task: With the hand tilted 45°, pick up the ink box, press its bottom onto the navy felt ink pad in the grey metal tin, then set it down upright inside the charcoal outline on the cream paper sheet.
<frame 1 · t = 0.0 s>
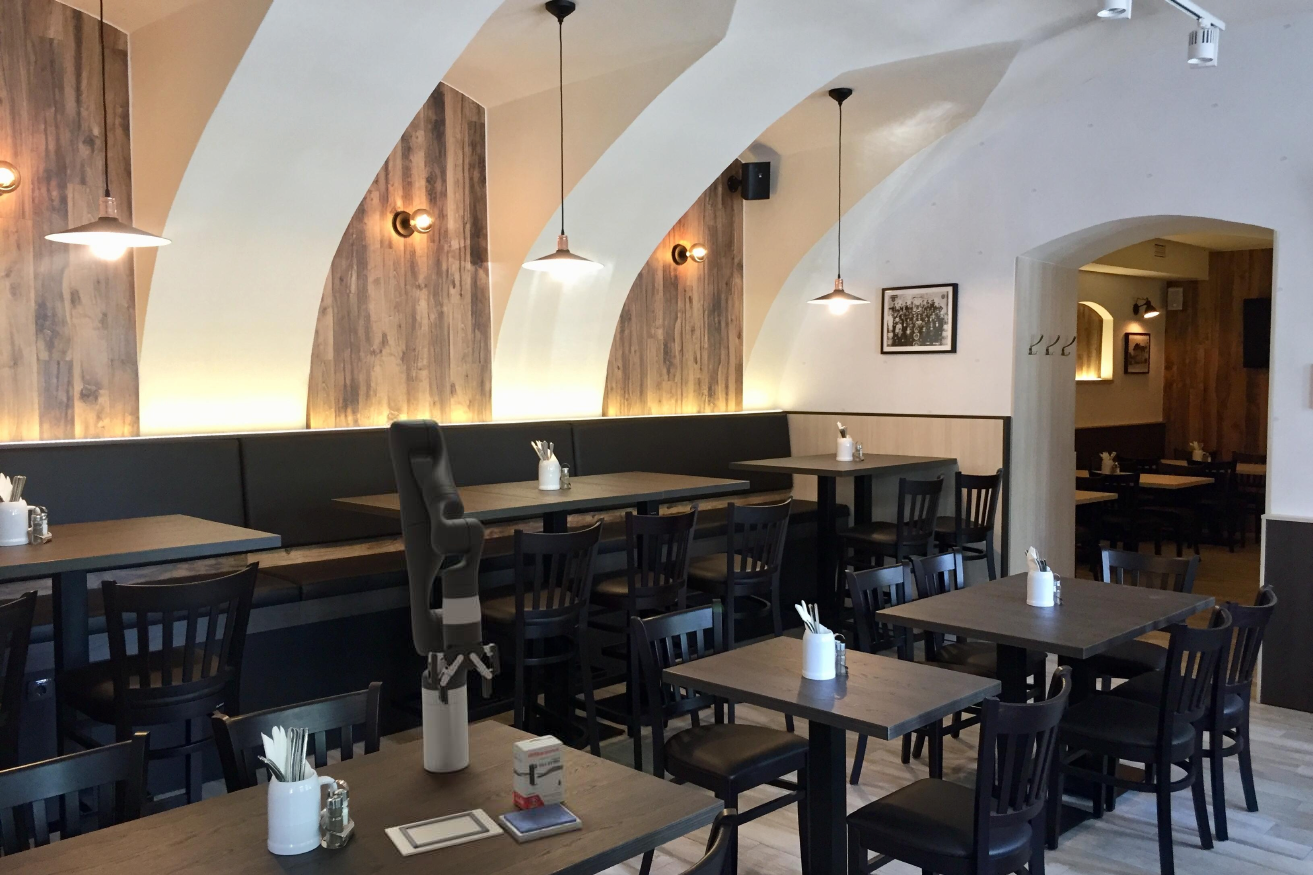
hand: (465, 700, 212), 17 cm above the table, tool pointing down, fingers open, 8 cm apart
ink box: (539, 803, 204), on the table
ink pad: (540, 825, 193), on the table
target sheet: (444, 832, 190), on the table
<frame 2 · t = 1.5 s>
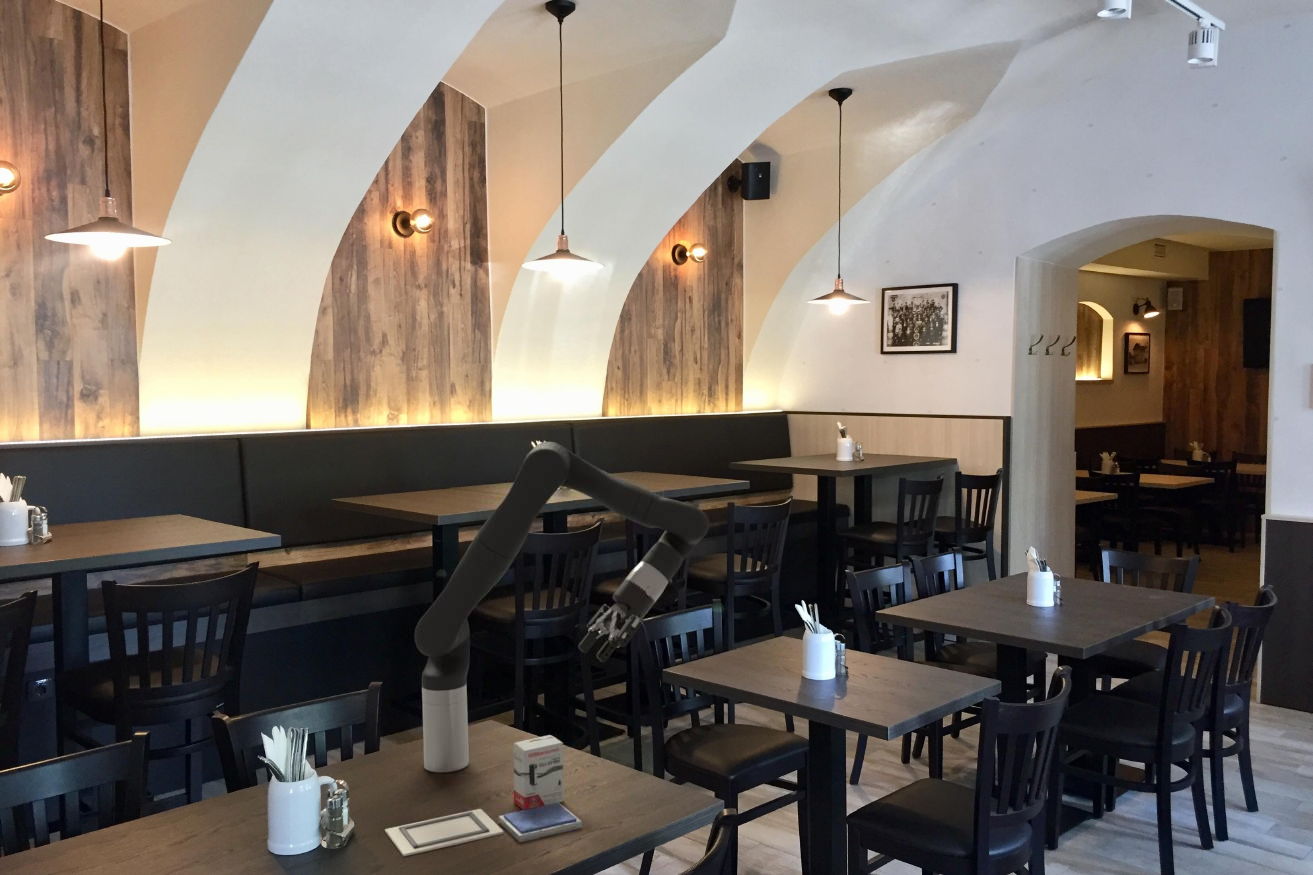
hand: (590, 655, 208), 27 cm above the table, tool tilted 45°, fingers open, 8 cm apart
nothing on the table moved.
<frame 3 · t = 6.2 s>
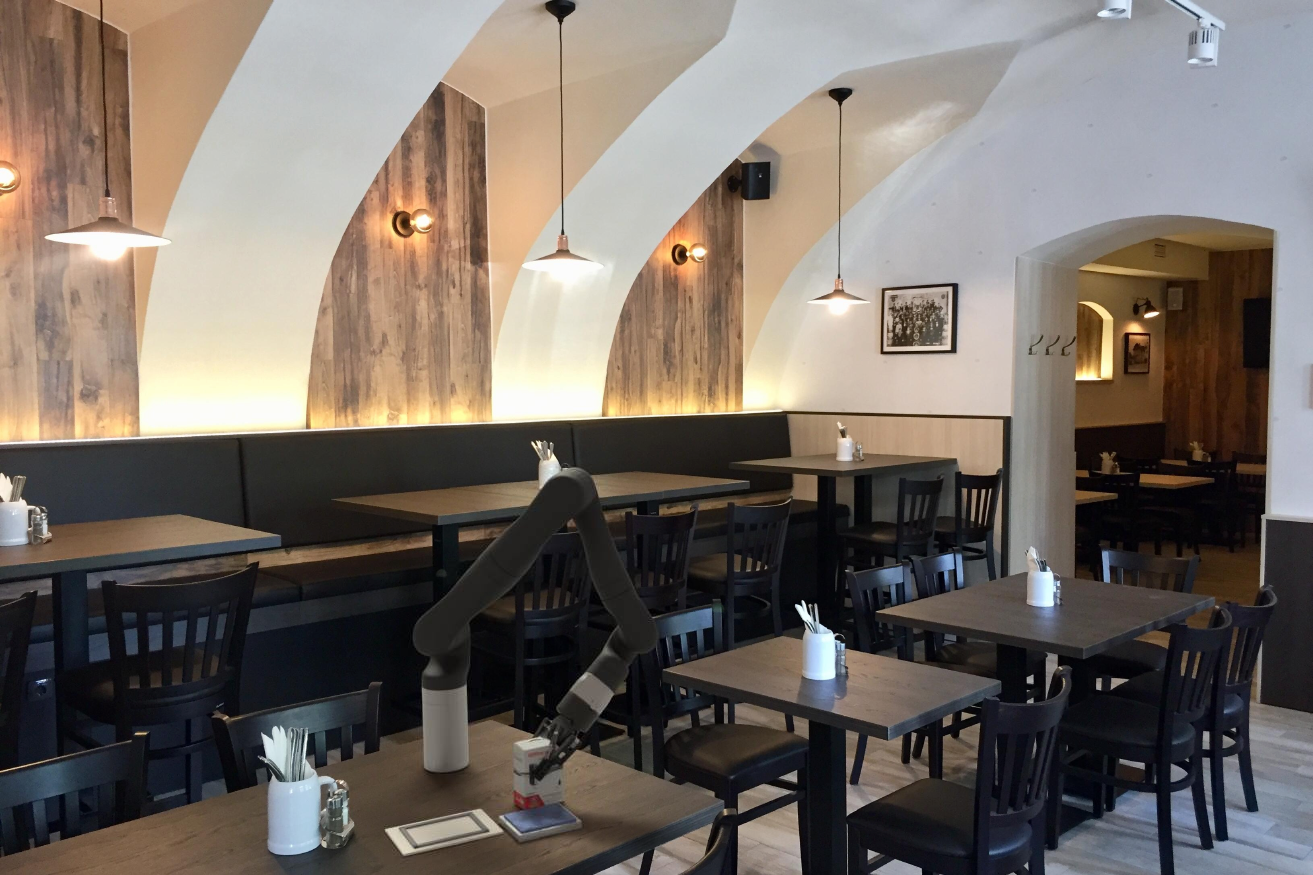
hand: (529, 773, 202), 6 cm above the table, tool tilted 45°, fingers closed on ink box, 5 cm apart
ink box: (539, 803, 204), on the table, touching gripper
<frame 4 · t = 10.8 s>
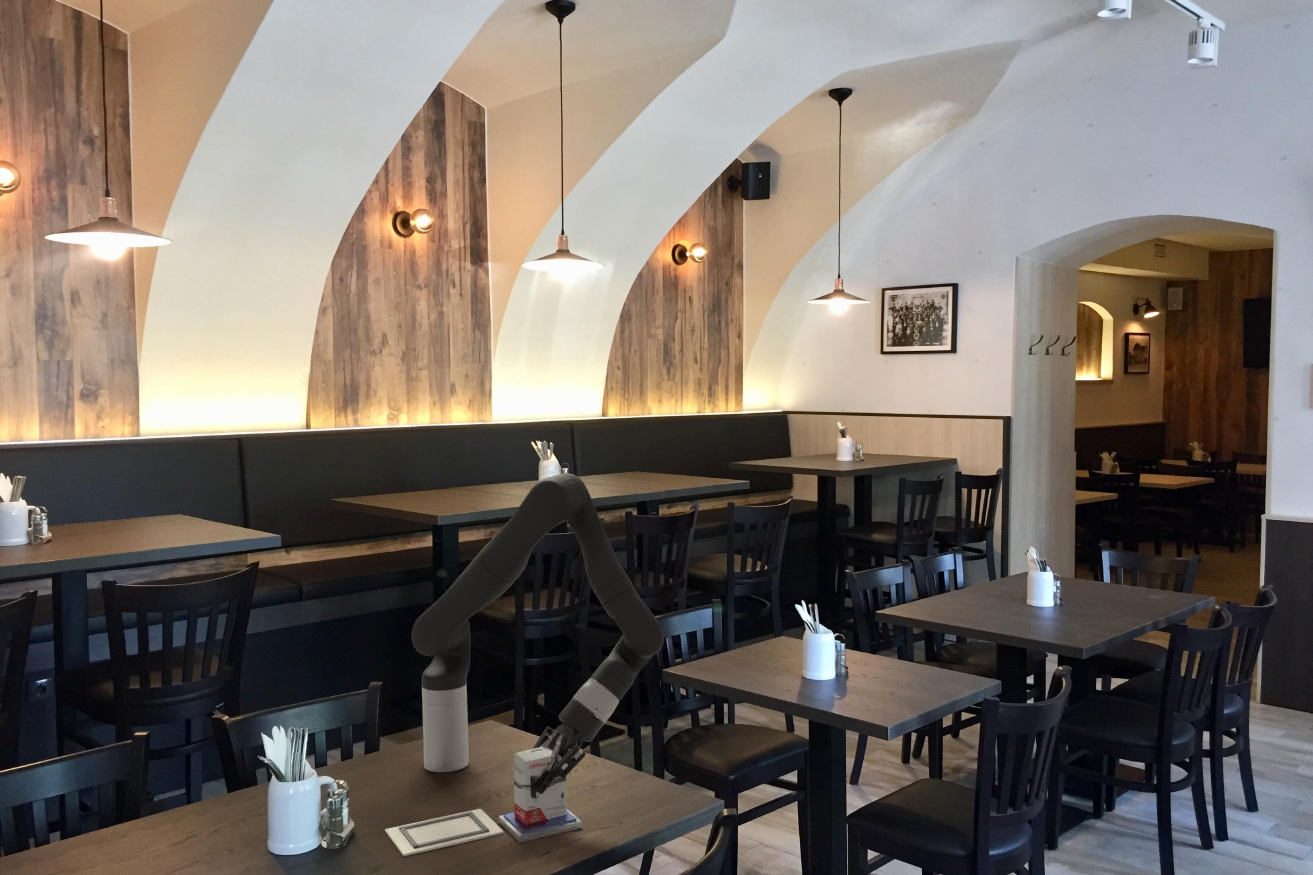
hand: (530, 785, 192), 8 cm above the table, tool tilted 45°, fingers closed on ink box, 5 cm apart
ink box: (541, 817, 193), point 1 cm above the table, touching gripper, ink pad
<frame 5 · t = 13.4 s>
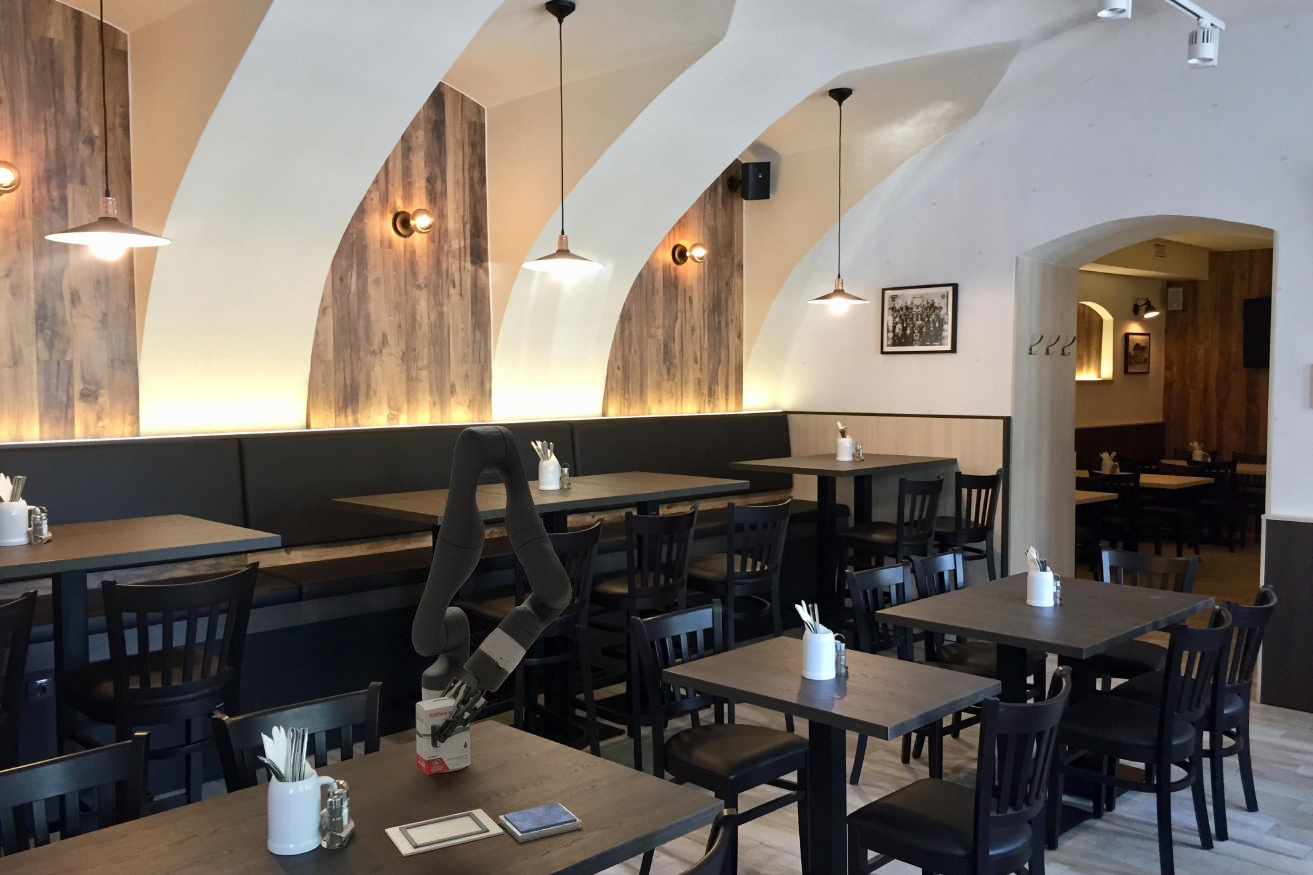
hand: (433, 735, 189), 18 cm above the table, tool tilted 45°, fingers closed on ink box, 5 cm apart
ink box: (444, 767, 190), point 12 cm above the table, touching gripper
when the fingers open (8 cm above the table, at t = 15.8 s): ink box drops 1 cm, resting on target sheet.
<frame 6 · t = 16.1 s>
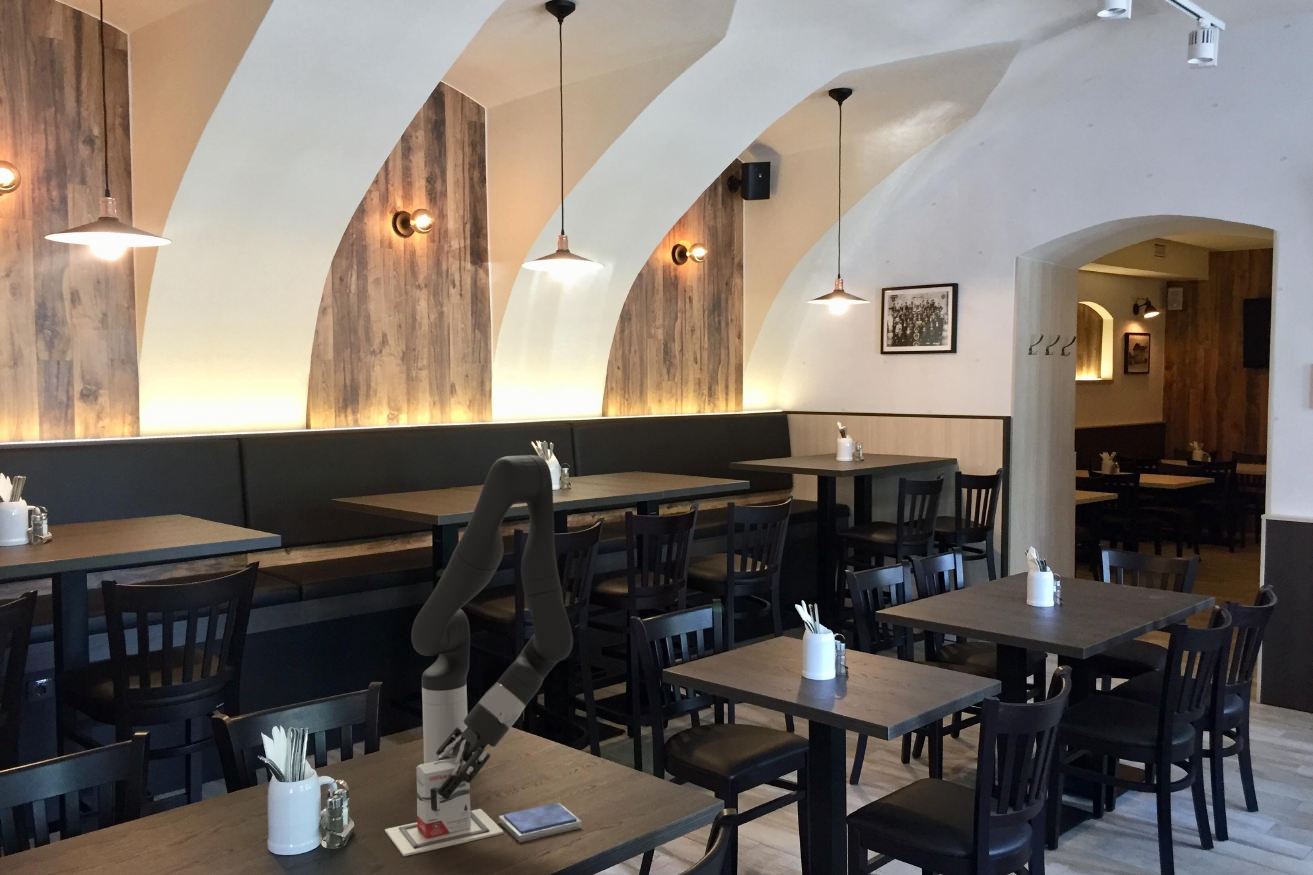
hand: (434, 788, 189), 8 cm above the table, tool tilted 45°, fingers open, 7 cm apart
ink box: (444, 830, 191), resting on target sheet
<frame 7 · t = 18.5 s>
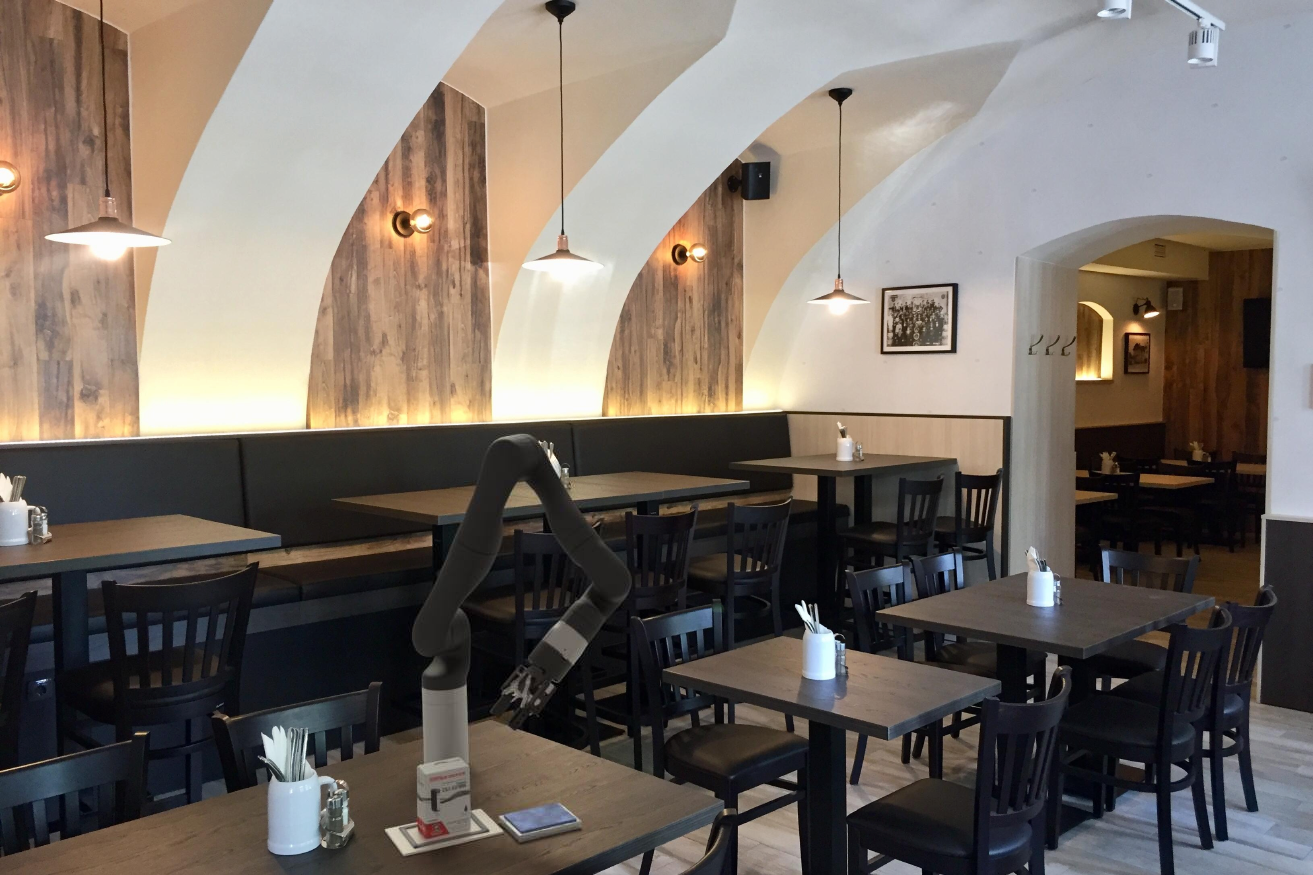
hand: (502, 721, 195), 18 cm above the table, tool tilted 45°, fingers open, 8 cm apart
nothing on the table moved.
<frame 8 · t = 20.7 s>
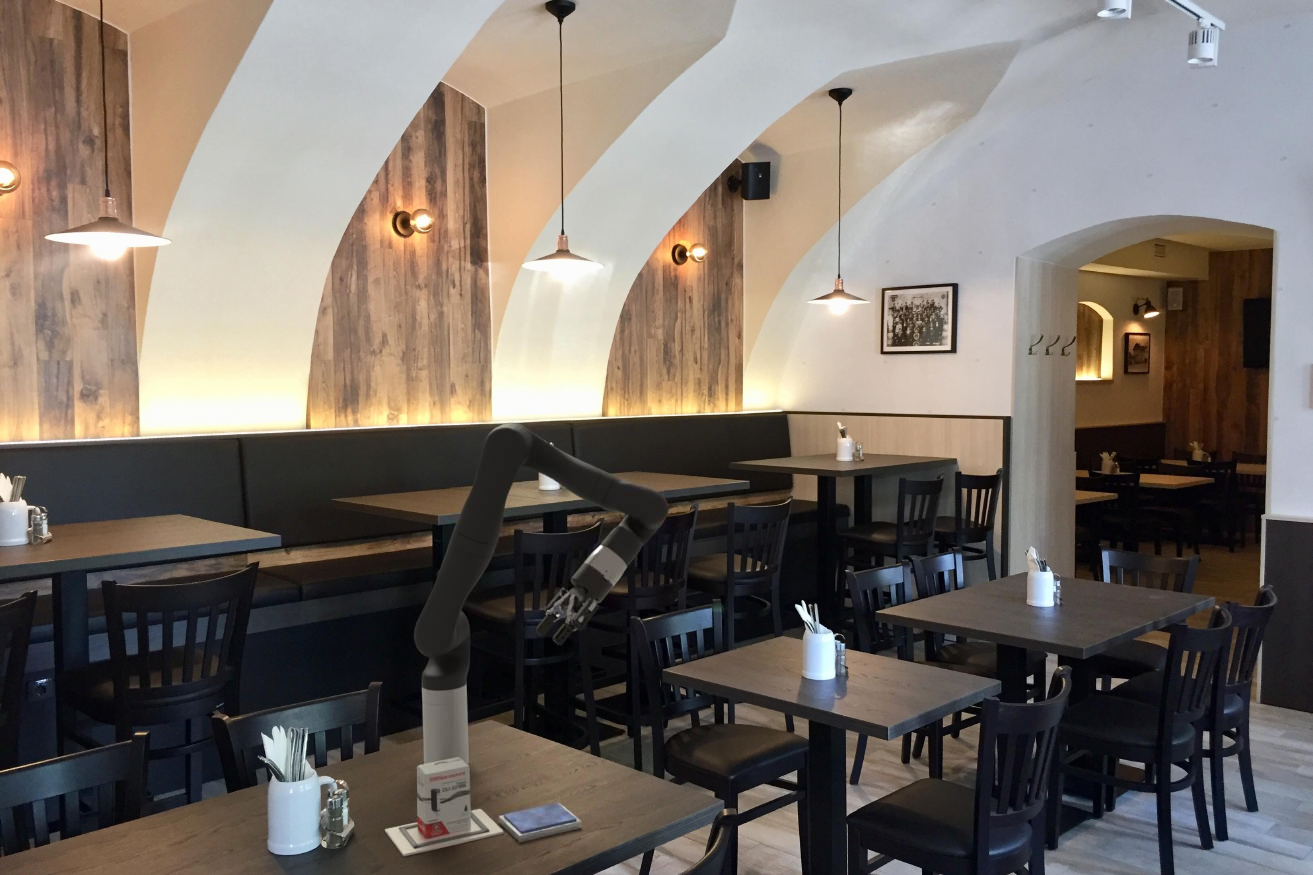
hand: (547, 638, 207), 31 cm above the table, tool tilted 45°, fingers open, 8 cm apart
nothing on the table moved.
at the end: ink box inside the target area on the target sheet (0.4 cm from its centre), point 0.2 cm above the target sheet's base; ink box tilted 0°; the gripper is holding nothing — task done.
